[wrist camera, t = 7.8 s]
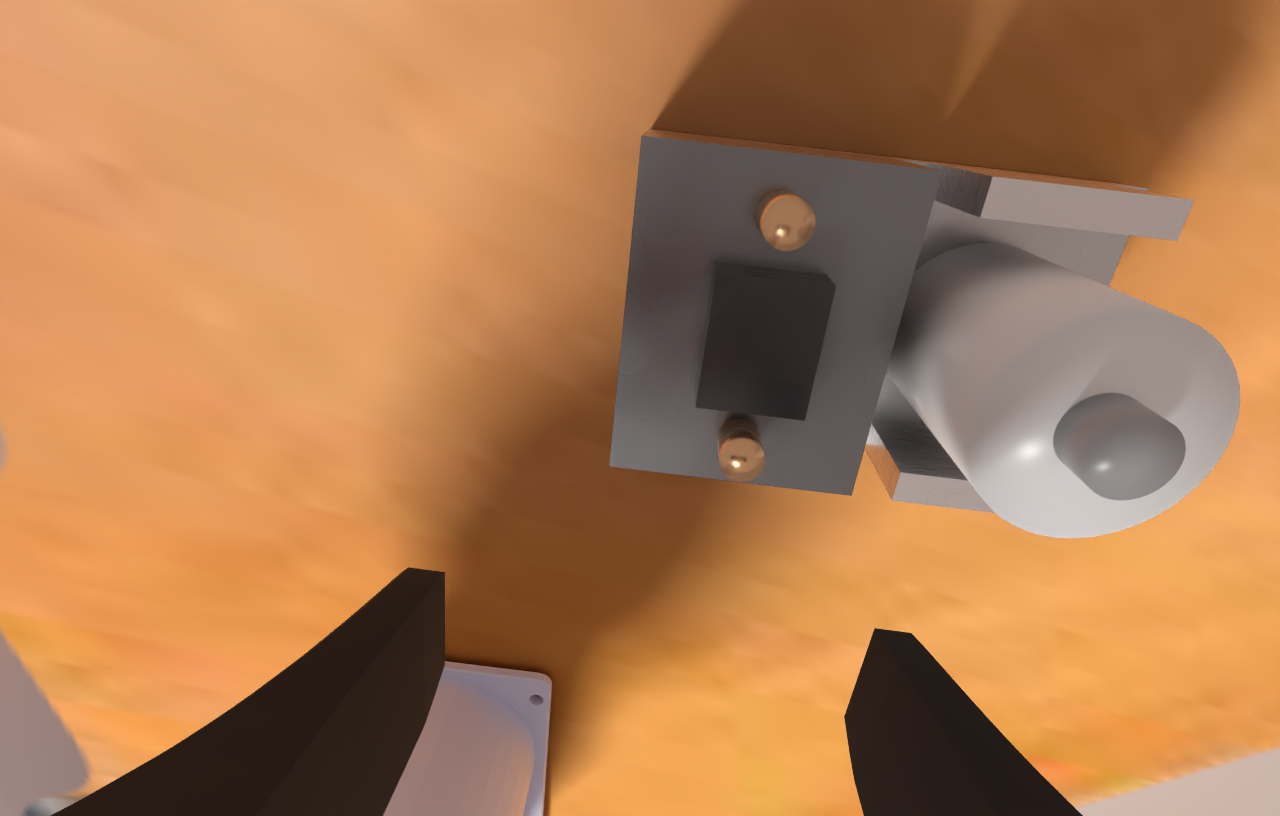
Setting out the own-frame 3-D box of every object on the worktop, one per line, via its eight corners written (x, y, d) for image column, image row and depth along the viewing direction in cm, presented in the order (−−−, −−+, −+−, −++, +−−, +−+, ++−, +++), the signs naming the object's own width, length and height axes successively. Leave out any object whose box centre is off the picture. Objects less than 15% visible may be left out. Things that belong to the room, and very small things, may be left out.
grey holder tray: (1020, 448, 20) (1125, 554, 15) (622, 400, 20) (603, 492, 15) (1123, 183, 17) (1296, 215, 12) (650, 129, 17) (637, 138, 12)
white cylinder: (1029, 418, 18) (1211, 582, 12) (862, 401, 19) (958, 557, 12) (1089, 251, 17) (1344, 343, 10) (903, 234, 17) (1042, 315, 10)
